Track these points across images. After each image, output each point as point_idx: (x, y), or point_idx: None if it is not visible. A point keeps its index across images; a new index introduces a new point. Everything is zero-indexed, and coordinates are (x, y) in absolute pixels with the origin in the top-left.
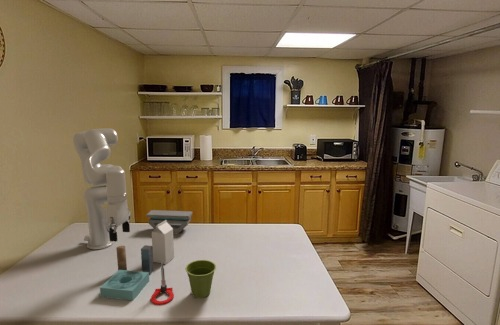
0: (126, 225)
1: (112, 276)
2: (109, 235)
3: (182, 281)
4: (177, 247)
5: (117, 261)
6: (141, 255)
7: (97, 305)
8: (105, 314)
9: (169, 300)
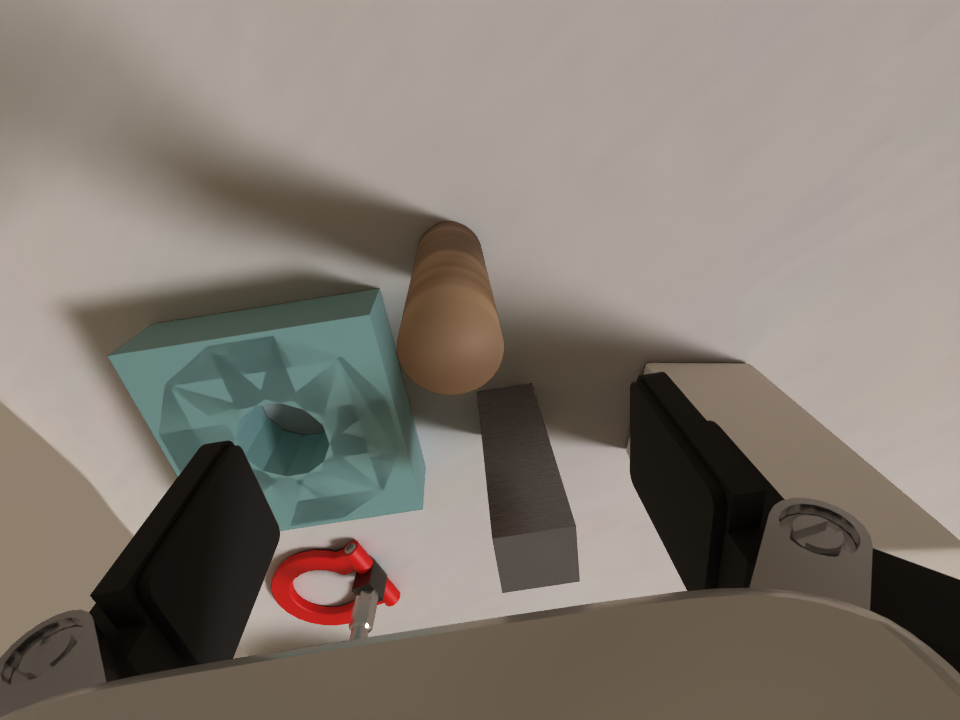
0: (689, 554)
1: (265, 334)
2: (148, 522)
3: (481, 589)
4: (876, 396)
5: (416, 266)
6: (487, 490)
7: (87, 365)
8: (74, 453)
9: (316, 623)
